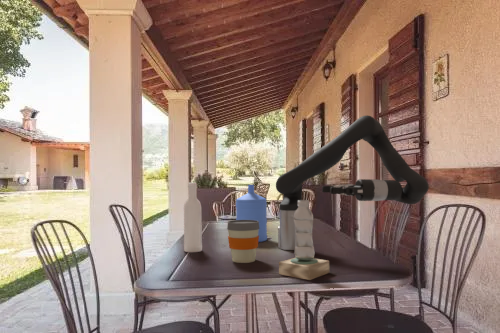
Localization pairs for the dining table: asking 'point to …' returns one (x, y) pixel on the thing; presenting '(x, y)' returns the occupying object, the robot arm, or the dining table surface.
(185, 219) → the bottle
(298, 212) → the plastic bottle
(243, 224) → the reusable coffee cup
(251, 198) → the water jug
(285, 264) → the base block
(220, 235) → the dining table surface
